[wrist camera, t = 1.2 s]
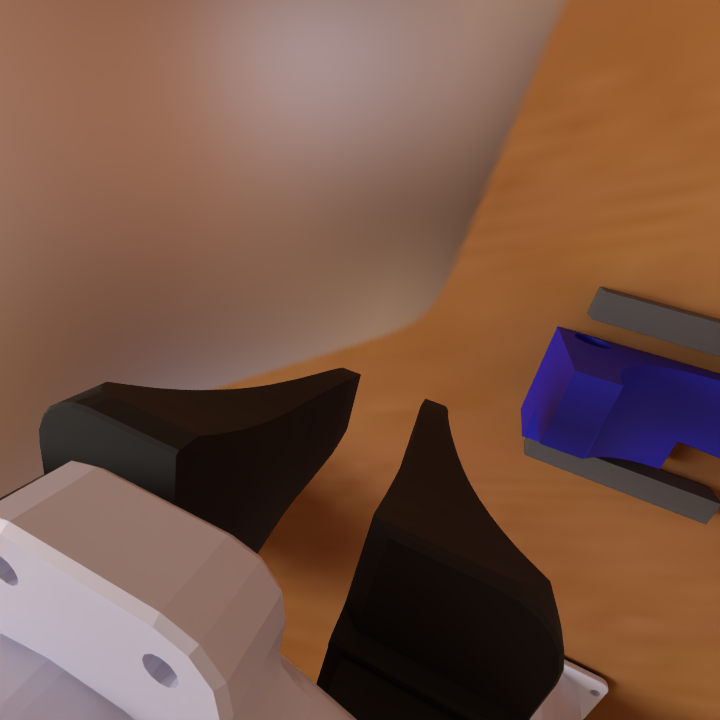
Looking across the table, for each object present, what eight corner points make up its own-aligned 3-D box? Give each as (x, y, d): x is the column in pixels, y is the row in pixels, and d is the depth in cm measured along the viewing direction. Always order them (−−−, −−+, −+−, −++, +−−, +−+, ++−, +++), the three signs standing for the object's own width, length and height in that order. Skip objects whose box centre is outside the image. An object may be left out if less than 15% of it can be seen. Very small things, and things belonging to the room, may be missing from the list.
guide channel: (695, 506, 19) (705, 524, 18) (523, 442, 21) (524, 454, 19) (819, 347, 15) (842, 357, 14) (599, 286, 17) (605, 291, 16)
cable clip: (520, 406, 20) (523, 475, 15) (557, 325, 18) (575, 370, 13) (798, 502, 17) (923, 629, 12) (873, 417, 16) (1060, 522, 10)
